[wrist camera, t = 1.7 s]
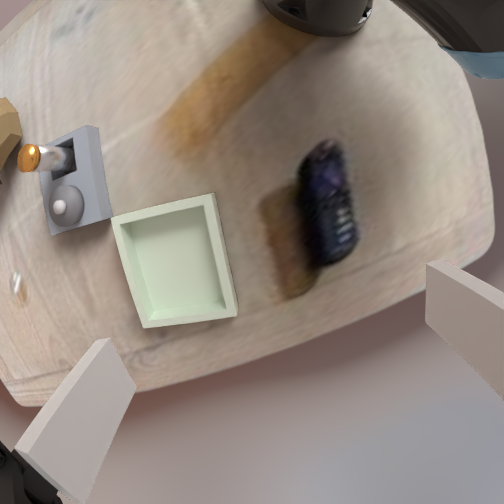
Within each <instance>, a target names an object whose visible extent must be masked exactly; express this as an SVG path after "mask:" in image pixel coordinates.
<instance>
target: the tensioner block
mask: <svg viewBox="0 0 504 504" xmlns="http://www.w3.org/2000/svg"><path fill="white" fill-rule="evenodd" d="M72 145H74V152H75V160H76V167H77V171H75V172H72V173H70V174H68V175H65V176H64V171H46V172H39V175H40V183H41V189H42V195H43V201H44V206H45V212H46V217H47V221H48V226H49V230H50V234H51V236H52V235H55V234H59V233H62V232H65V231H68V230H71V229H74V228H78V227H81V226H84V225H88V224H91V223H94V222H98V221H101V220H105V219H108V218H111V217H113V214H112V209H111V205H110V200H109V195H108V190H107V184H106V179H105V173H104V167H103V161H102V154H101V147H100V139H99V130H98V128H96V127H93V126H89V125H85V126H83V127H81V128H79V129H76V130H74V131H72V132H70V133H68V134H66V135H64V136H62V137H60V138H58V139H56V140H54V141H52V142H50V143H48V144H46V145H45V146H54V147H63V148H67V147H69V146H72Z"/></svg>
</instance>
